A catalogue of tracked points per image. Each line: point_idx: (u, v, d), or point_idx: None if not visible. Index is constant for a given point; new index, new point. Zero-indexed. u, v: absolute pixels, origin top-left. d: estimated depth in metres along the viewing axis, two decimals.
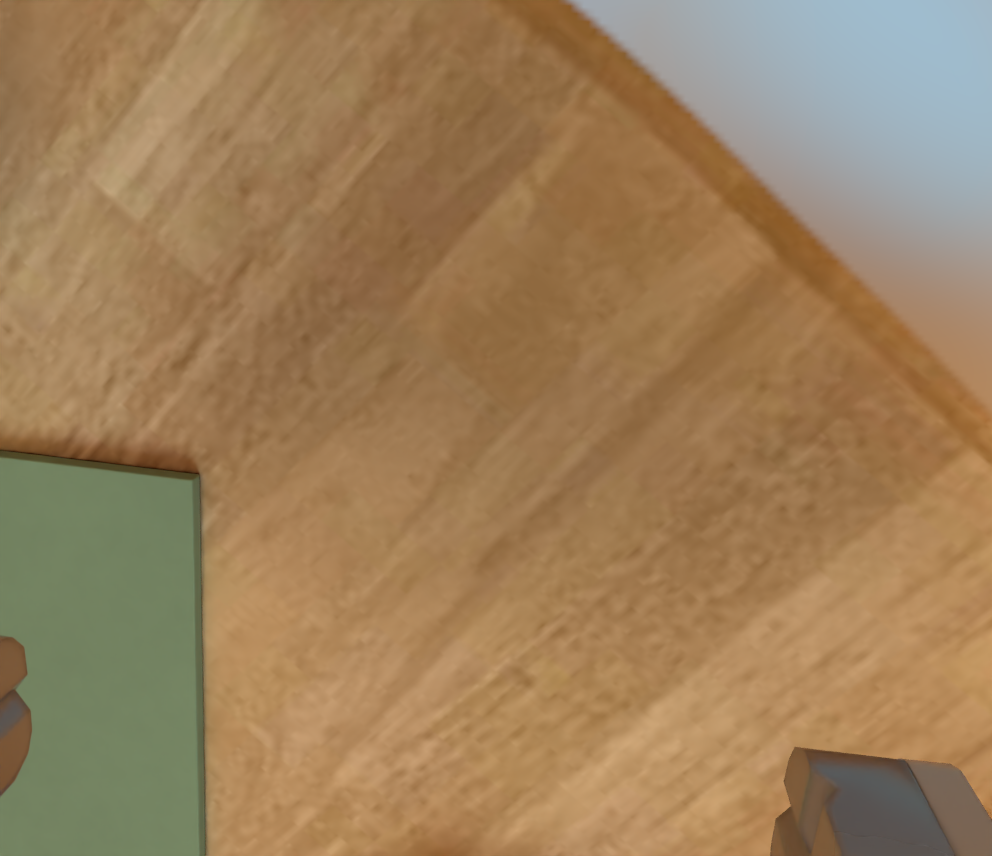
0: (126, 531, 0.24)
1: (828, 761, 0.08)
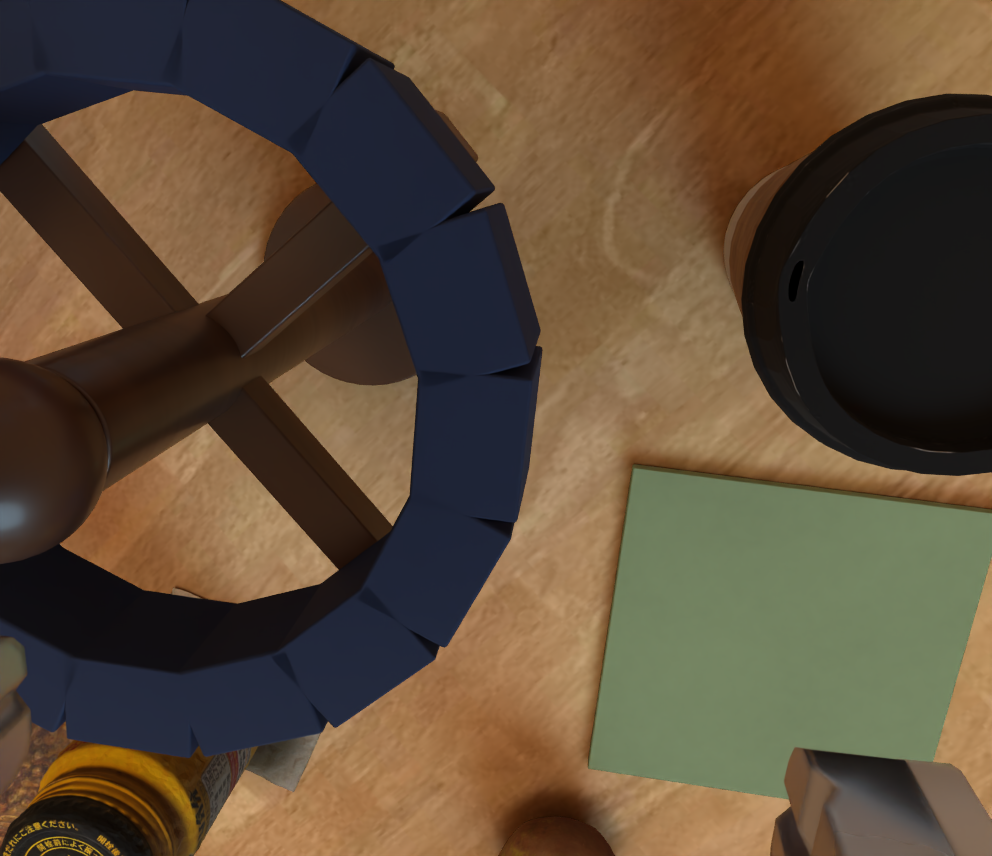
0: (940, 550, 0.34)
1: (828, 761, 0.08)
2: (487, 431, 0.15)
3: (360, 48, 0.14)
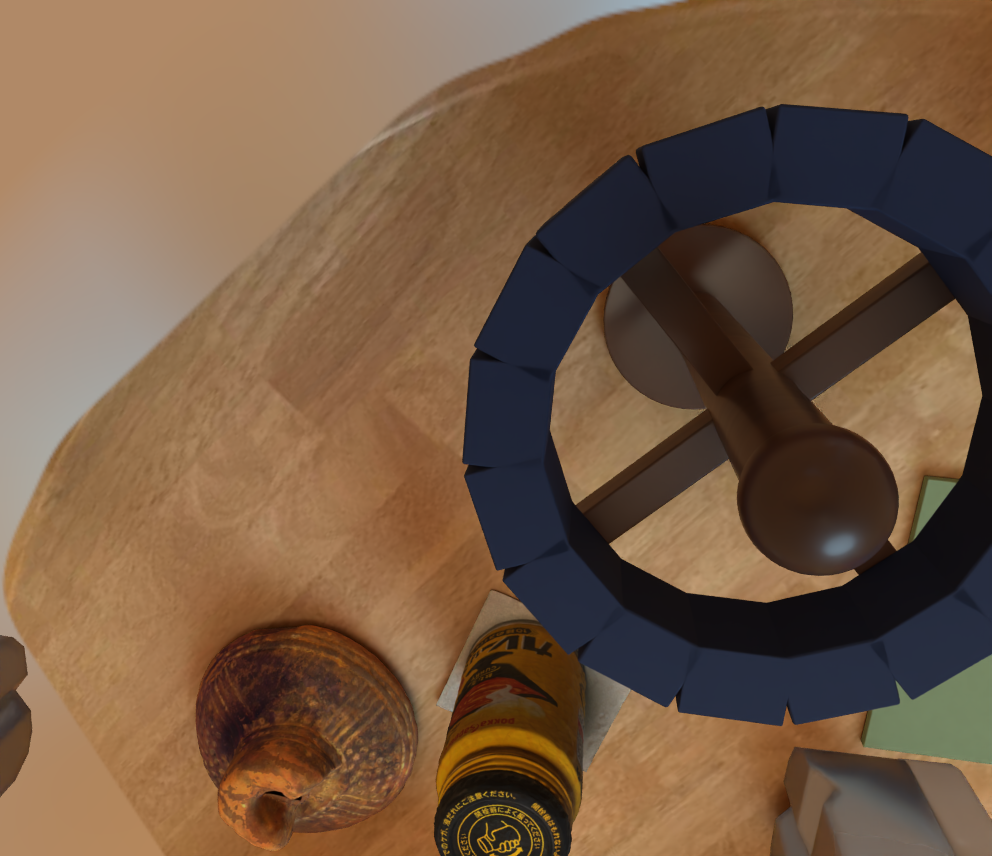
0: None
1: (828, 761, 0.08)
2: None
3: None
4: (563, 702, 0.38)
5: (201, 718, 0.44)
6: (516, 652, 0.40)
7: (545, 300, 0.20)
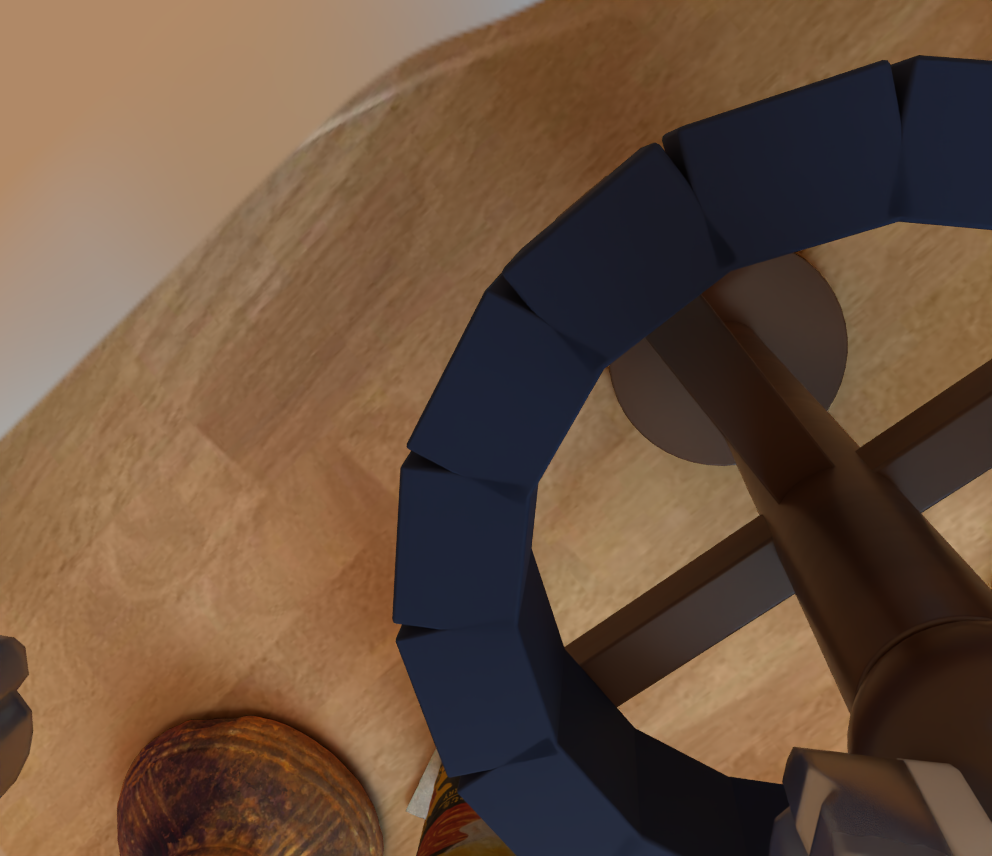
0: None
1: (827, 761, 0.08)
2: None
3: None
4: None
5: (121, 829, 0.36)
6: None
7: (519, 377, 0.13)
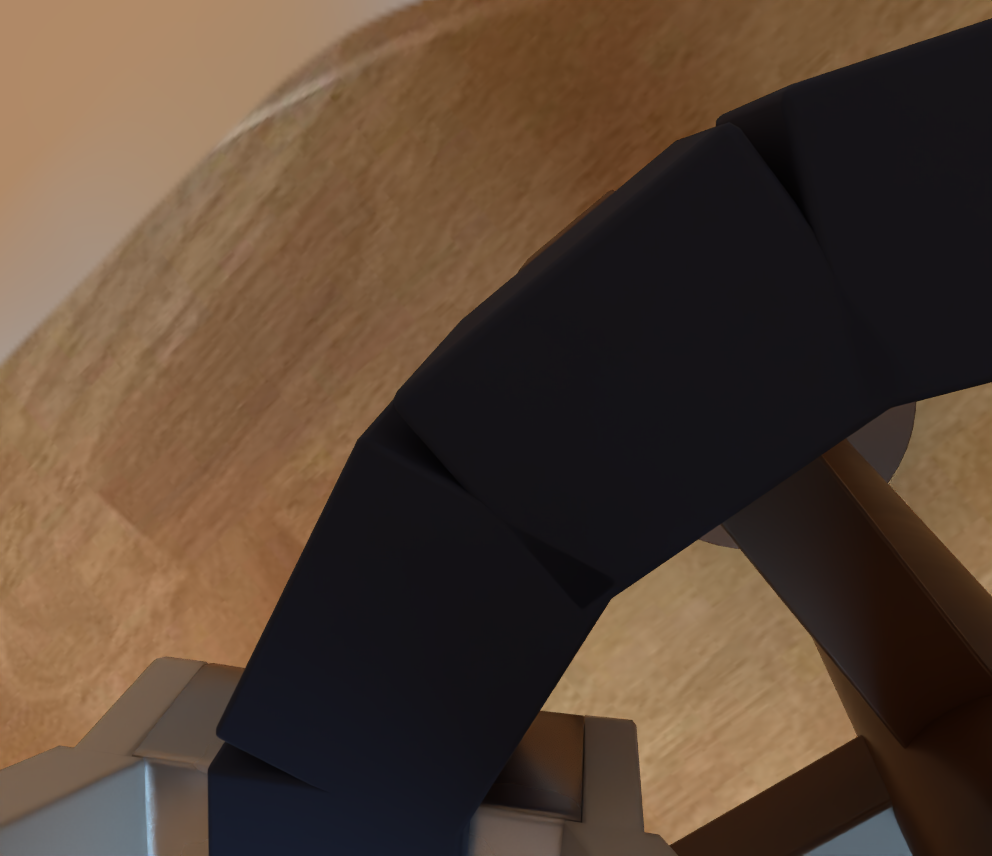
0: None
1: None
2: None
3: None
4: None
5: None
6: None
7: (433, 612, 0.06)
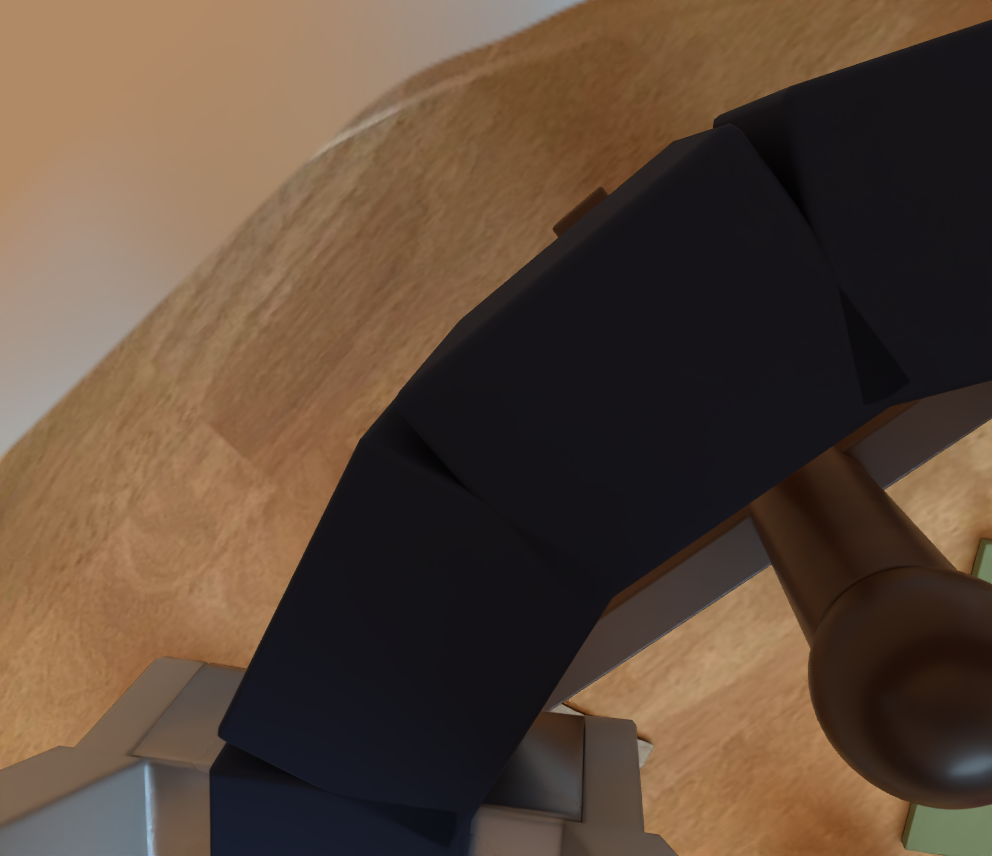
0: None
1: None
2: None
3: None
4: None
5: None
6: None
7: (435, 613, 0.06)
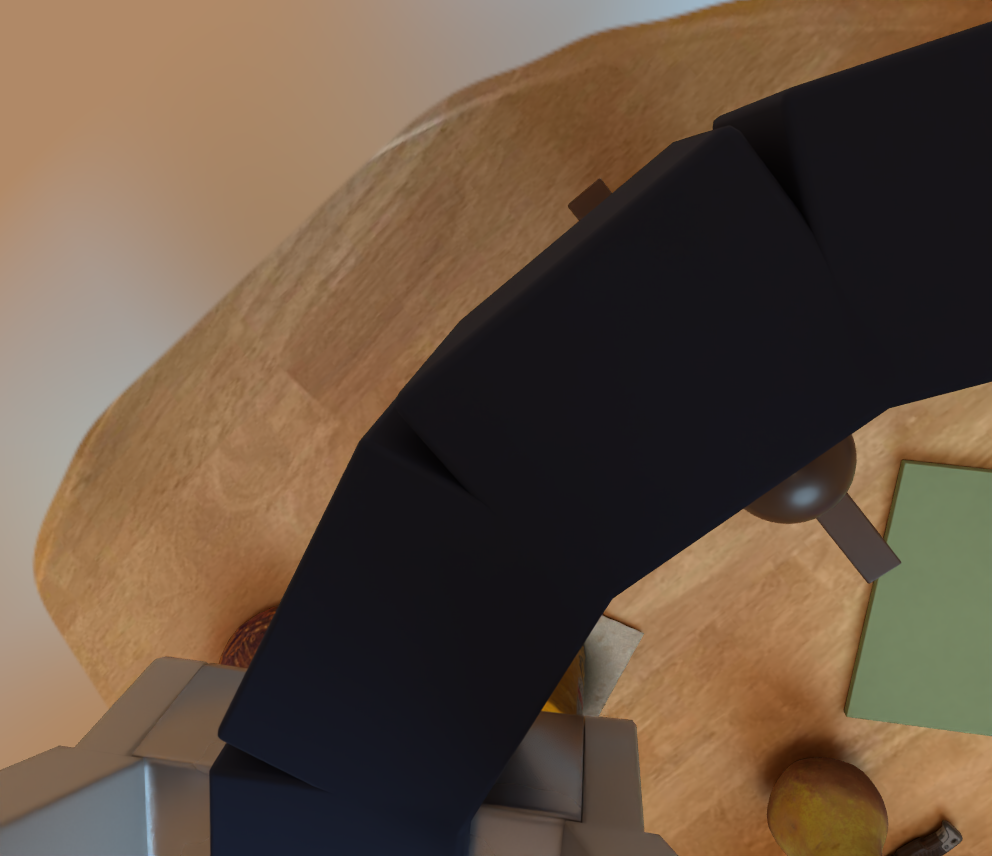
0: None
1: None
2: None
3: None
4: None
5: None
6: None
7: (435, 615, 0.06)
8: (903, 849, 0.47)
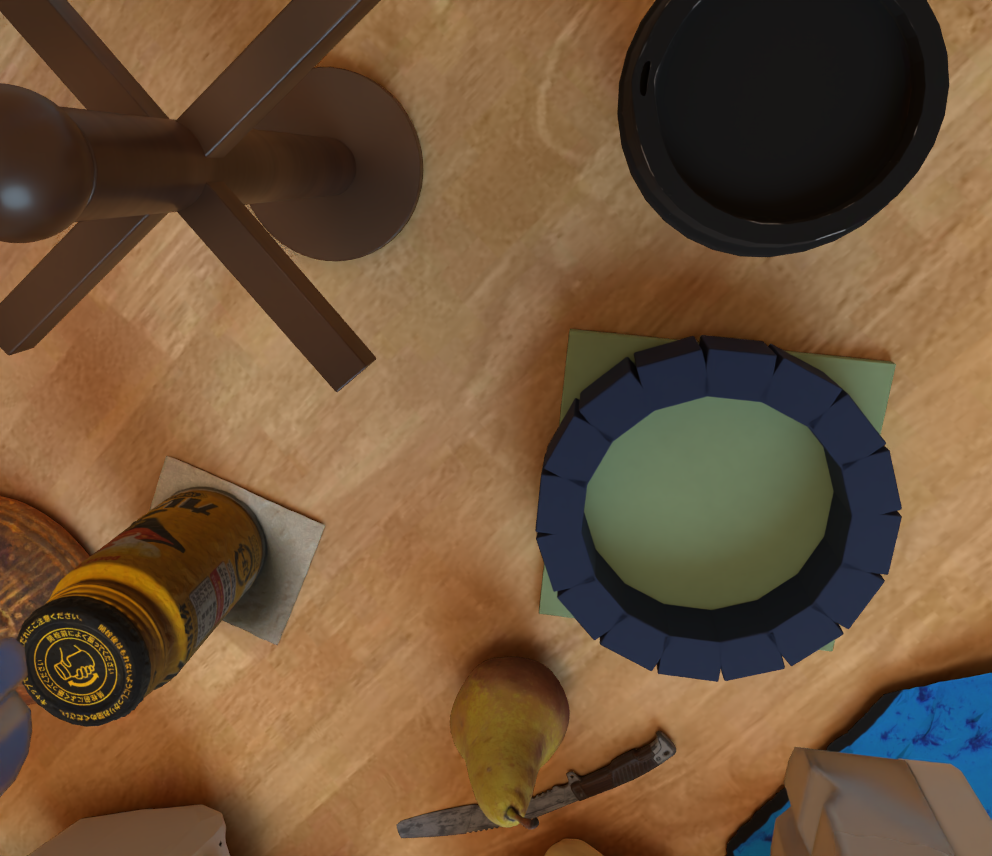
0: None
1: (828, 761, 0.08)
2: (880, 537, 0.37)
3: (839, 387, 0.35)
4: (195, 551, 0.38)
5: None
6: (170, 509, 0.40)
7: (584, 444, 0.37)
8: (616, 760, 0.45)
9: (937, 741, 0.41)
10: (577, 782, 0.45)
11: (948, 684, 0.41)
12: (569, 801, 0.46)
